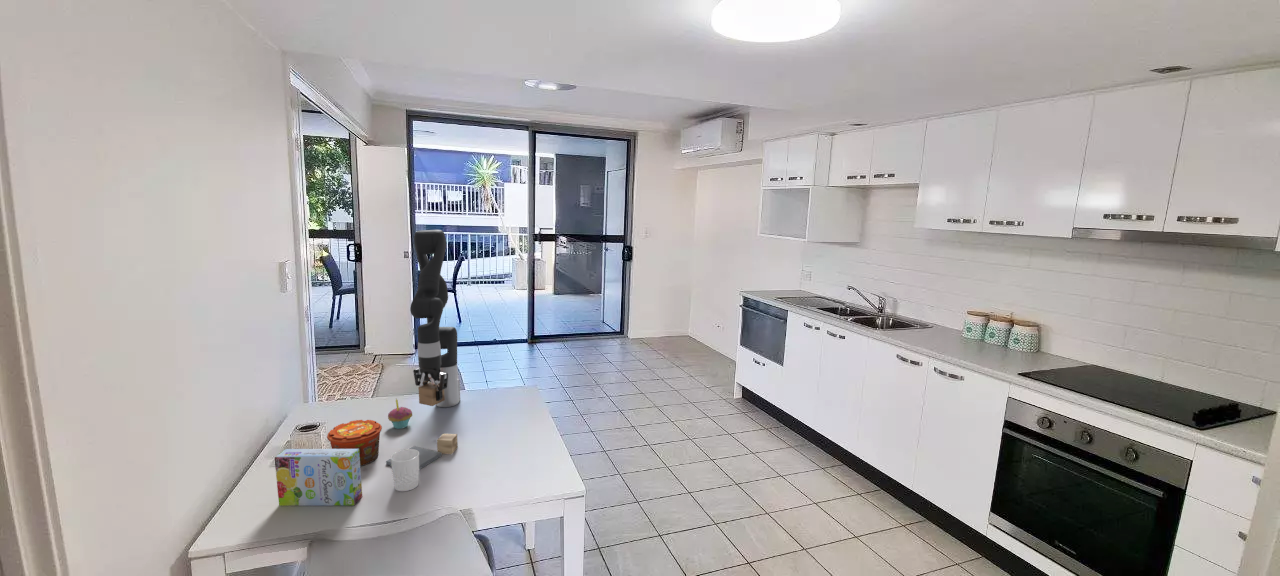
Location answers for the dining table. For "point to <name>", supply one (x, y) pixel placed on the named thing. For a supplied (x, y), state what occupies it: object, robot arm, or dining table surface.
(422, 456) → the slate coaster
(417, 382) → the robot arm
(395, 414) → the cupcake
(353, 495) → the snack box
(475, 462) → the dining table surface
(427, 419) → the dining table surface
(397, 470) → the white cup
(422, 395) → the walnut block
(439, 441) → the oak block
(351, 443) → the food container
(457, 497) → the dining table surface
